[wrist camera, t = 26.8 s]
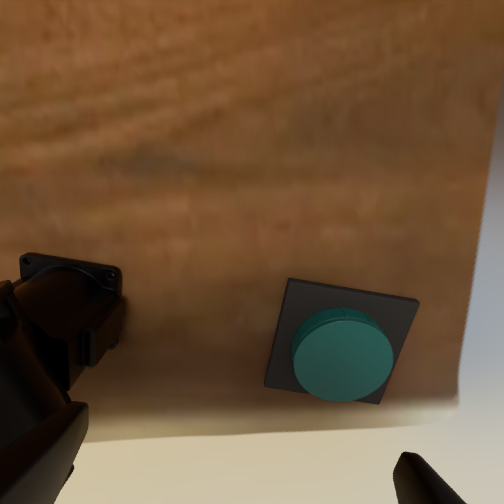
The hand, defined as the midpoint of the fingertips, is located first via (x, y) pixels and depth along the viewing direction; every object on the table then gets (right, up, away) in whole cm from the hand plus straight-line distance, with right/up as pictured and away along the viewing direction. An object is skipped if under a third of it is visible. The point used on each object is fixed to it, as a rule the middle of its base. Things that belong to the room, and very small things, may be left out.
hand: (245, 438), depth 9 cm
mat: (+6, -1, +14) cm, 16 cm away
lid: (+6, -2, +12) cm, 14 cm away
